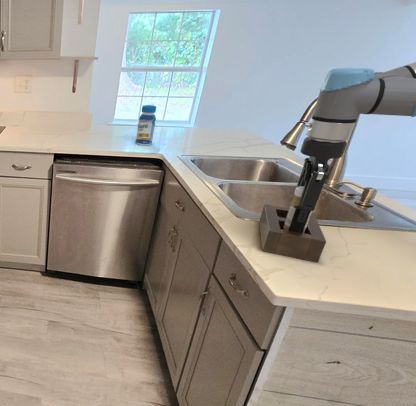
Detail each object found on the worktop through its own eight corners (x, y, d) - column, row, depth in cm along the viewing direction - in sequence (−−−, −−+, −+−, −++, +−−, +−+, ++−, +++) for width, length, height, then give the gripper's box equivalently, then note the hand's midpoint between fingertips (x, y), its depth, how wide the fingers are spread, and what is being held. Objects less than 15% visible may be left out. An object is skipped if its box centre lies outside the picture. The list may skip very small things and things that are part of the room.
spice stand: (306, 230, 104) (313, 211, 102) (317, 262, 89) (326, 241, 87) (258, 222, 110) (264, 204, 107) (262, 251, 95) (269, 230, 92)
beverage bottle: (155, 144, 195) (162, 106, 187) (142, 146, 193) (148, 107, 185) (144, 141, 202) (150, 104, 194) (131, 142, 200) (137, 105, 192)
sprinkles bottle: (303, 242, 92) (322, 193, 87) (280, 238, 94) (297, 190, 89) (301, 235, 96) (319, 187, 90) (279, 231, 98) (295, 184, 92)
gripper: (300, 130, 93) (273, 212, 102) (310, 145, 80) (278, 238, 89) (339, 132, 89) (307, 218, 99) (357, 149, 76) (318, 246, 85)
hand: (294, 227), depth 94 cm, fingers closed on sprinkles bottle, 4 cm apart
